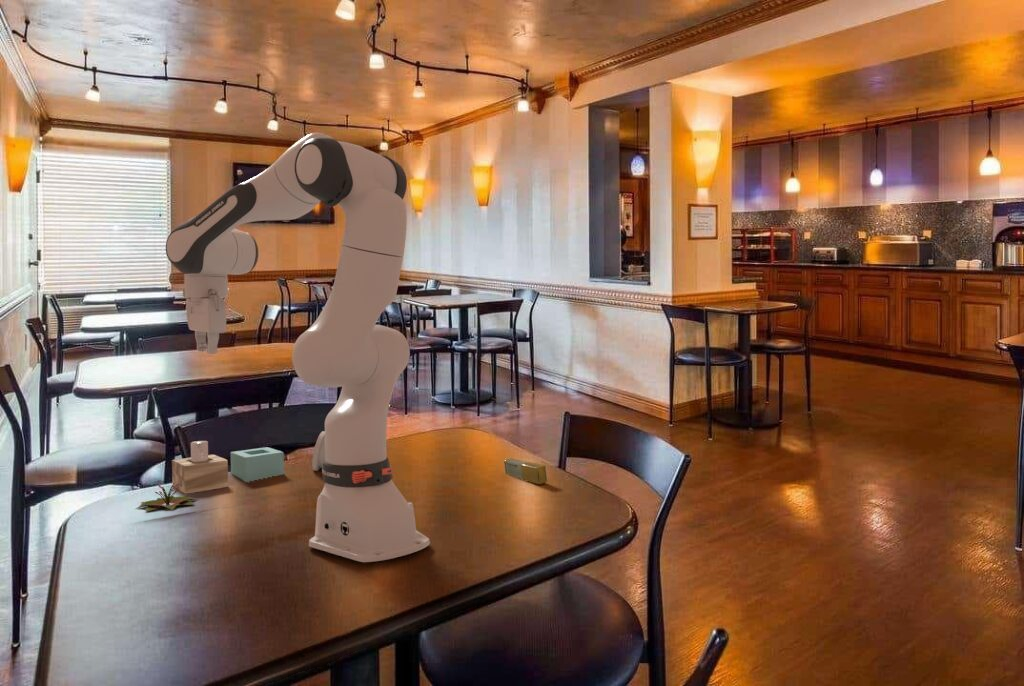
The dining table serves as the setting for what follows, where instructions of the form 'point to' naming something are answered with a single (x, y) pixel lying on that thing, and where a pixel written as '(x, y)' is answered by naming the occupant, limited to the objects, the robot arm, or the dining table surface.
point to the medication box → (526, 470)
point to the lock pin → (199, 451)
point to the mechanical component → (319, 452)
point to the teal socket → (257, 463)
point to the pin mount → (200, 474)
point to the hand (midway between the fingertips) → (206, 352)
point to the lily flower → (167, 500)
